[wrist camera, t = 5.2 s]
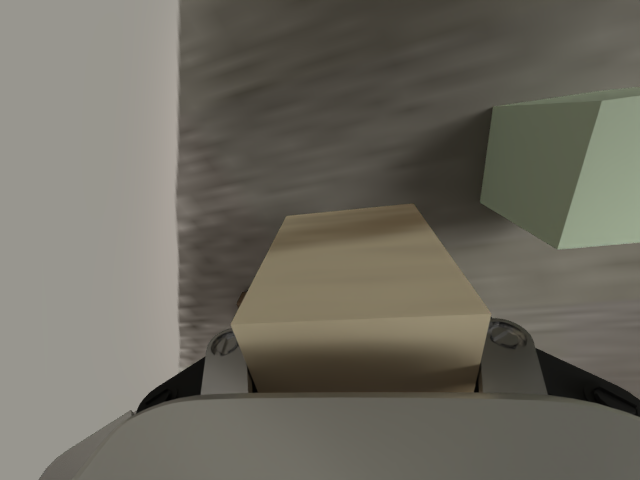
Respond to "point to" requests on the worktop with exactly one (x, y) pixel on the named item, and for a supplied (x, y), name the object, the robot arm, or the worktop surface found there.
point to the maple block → (361, 308)
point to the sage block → (568, 168)
